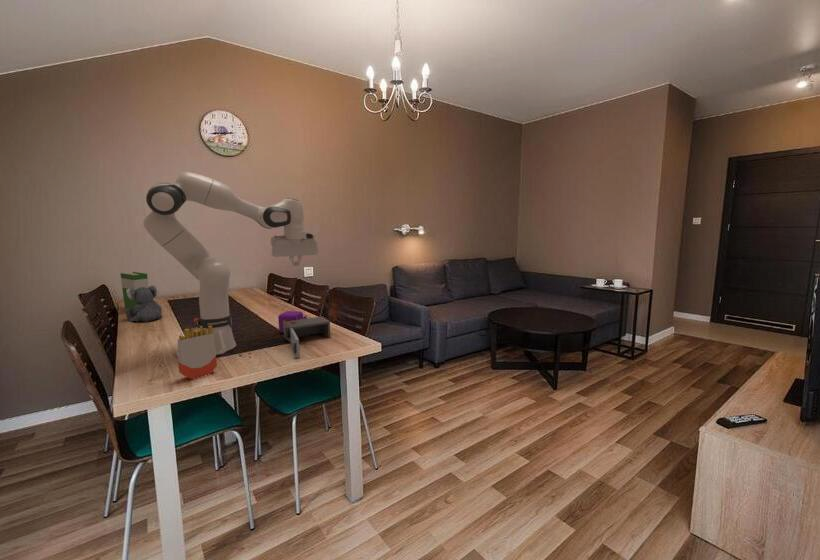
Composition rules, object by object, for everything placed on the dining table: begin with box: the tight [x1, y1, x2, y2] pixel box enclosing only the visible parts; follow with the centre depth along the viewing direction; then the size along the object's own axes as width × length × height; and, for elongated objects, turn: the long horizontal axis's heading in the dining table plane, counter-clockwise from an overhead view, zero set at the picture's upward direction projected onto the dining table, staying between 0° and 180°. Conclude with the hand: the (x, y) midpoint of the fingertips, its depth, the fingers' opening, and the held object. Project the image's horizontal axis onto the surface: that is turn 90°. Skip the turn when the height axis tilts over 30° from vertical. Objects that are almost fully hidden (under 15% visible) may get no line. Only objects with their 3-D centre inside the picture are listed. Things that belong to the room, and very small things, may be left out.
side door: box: [290, 328, 301, 359], centre depth 154 cm, size 18×2×8 cm, turn 25°
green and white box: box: [120, 271, 150, 311], centre depth 227 cm, size 18×7×24 cm, turn 57°
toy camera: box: [277, 309, 308, 334], centre depth 184 cm, size 11×14×10 cm
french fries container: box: [177, 326, 218, 380], centre depth 129 cm, size 5×11×18 cm, turn 140°
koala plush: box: [124, 284, 163, 323], centre depth 208 cm, size 17×18×20 cm
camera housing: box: [283, 316, 332, 344], centre depth 172 cm, size 19×11×9 cm, turn 123°
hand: (296, 265), depth 168 cm, fingers closed
